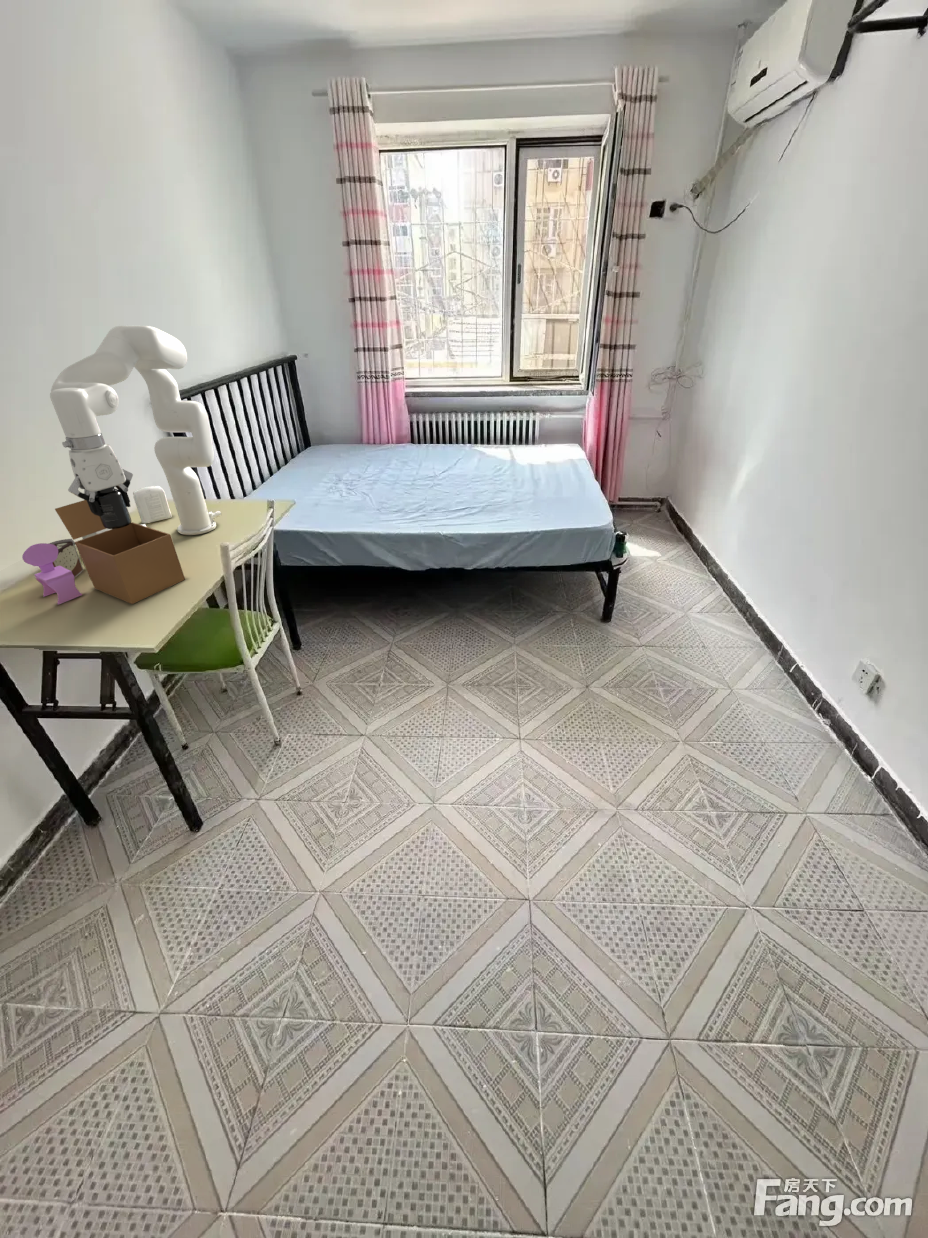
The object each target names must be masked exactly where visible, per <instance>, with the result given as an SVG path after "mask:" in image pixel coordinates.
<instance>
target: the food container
mask: <svg viewBox="0 0 928 1238" xmlns="http://www.w3.org/2000/svg"><path fill="white" fill-rule="evenodd" d="M75 542H76V541H74V540H73V538H65V539H58V540H55V541H52V542H49V543H47V544H53V545H55V546H56V547H57V548H58V556H57V559H56V560H55V561H53V566H54V567H57V566H62V567H64V568H65V569H68V570H70V571H72V574H73V575H74V579H76V578H77V577H78V576H79V575H80V574H81V573H83V572H84V568H83V565H82V562H81V558H80V555H79V554H78V553H79V552H78V550H77V547H76V544H75Z"/></svg>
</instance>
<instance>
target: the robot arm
mask: <svg viewBox="0 0 928 1238" xmlns="http://www.w3.org/2000/svg"><path fill="white" fill-rule="evenodd" d="M187 363H188V353H187V350H186V347H185V345H184V344H183V342H181V340H180V339H178V338H177V337H175V336H173V335H171V334H169V333H167V332H165V331H163V330H161V329H159V328H157V327H154V326H152V325H151V326H150V325H117V326H114V327H112V328H111V329H110V330H109V331H108V332H107V334H106V335H105V337H104V338H103V340H102V342H101V343H100V345H99V346H98V347H97V349H96V350H95V352H94V353H92V354H91V355H88V356H86V357H84V358H82V359H80V360H78V361H76V362H75V363H72V364H70V365H68V366H67V367H65V368H64V369H63V370H62V371H61V372H60V373H59V375H58V376H57V377H56V379H55V380H54V381H53V382H52V383H53V384H52V386H51V389H50V393H49V398H50V401H51V404H52V406H53V408H54V411H55V412H56V413H55V414H56V416H57V419H58V422H59V424H60V426H61V428H62V431H63V433H64V436H65V441H62V442H61V444H62V446H63V448H69V450H68V456H69V461H70V467H71V470H72V473H73V475H74V479H73V481H72V482H71V484H70V486H69V487H68V489H67V491H68V492H69V493H71V494H73V495H74V496H76V497H78V498H80V499H82V500H86V501H87V503H88V505H89V508H90V510H91V512H92V513H94V515H97V516H102V515H103V514H102V511H101V509H100V506H99V504H98V502H97V501H95V491H100V490H103V489H107V488H110V487H114V486H115V487H114V488H115V489H117V490H119V491H120V492H121V493H122V496H123V498H124V501H125V504H126V506H127V508H131V500H130V497H129V493H128V492H129V487H130V485H131V481H132V479H133V476H134V474H133V473H132V472H130V471H128V470H126V469H124V468H122V465H121V463H120V461H119V459H118V457H117V455H116V453H115V452H114V450H113V448H112V446H111V445H110V444H108V443H106V442H105V439H104V436H103V433H102V430H101V428H100V426H99V422H98V420H97V417H98V416H99V417H100V416H107V415H108V416H109V415H112V414H114V413H115V412H116V411H117V410H118V408H119V405H120V399H119V395H118V394H117V391H116V390H115V389H114V388H113V387H111V386H113V385H117V384H120V383H122V382H125V381H126V380H127V379H128V378H129V377H130V374H131V372H132V371H133V369H134V368H135V369H136V371H137V372H138V373H139V374H140V376H141V377H142V378H143V380H144V382H145V384H146V386H147V390H148V395H149V399H150V404H151V409H152V415H153V419H154V423H155V425H156V427H157V428H158V429H159V431H162V432H164V433H191V436H165V437H161V438H159V439H158V440H156V442H155V443H154V455H155V456H156V459H157V461H158V463H159V464H160V467H161V469H162V471H163V473H164V475H165V478H166V482H167V484H168V487H169V490H170V494H171V497H172V500H173V503H174V507H175V510H176V514H177V517H178V520H179V522H180V524H179V525H178V526H177V532H178V533H179V534H181V535H184V536H197V535H203V534H206V533H209V532H211V531H213V530H214V529H216V528H217V523H216V521H215V519H216V518H219V517H221V516H222V512H221V511H220V510H217V511H214V512H213V511H208V507H207V503H206V500H205V497H204V493H203V489H202V485H201V482H200V478H199V477H198V475H197V473H196V472H195V471H194V470H193V469H192V468H208V467H211V466H212V465H213V464H214V461H215V449H214V444H213V438H212V437H213V436H212V430H211V425H210V419H209V414H208V412H207V410H206V408H205V406H203V404H202V403H200V402H198V401H196V400H182V398H181V395H180V389H179V384H178V383H177V381H176V379H175V378H174V377H173V375H172V374H171V373H170V372H169V371H167V370H181V369H183V368H185V367H186V366H187ZM80 489H81V490H83V492H81V491H80Z"/></svg>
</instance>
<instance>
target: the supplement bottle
mask: <svg viewBox="0 0 928 1238" xmlns="http://www.w3.org/2000/svg"><path fill="white" fill-rule="evenodd" d="M95 501H97V502H98V504H99V506H100V509H101V511H102V514H103V515H102V516H99V517H100V519H101V522H102V524H103V526H104V527H105V528H107V529H118V528H122V527H125V526H128V525H129V524H131V522H133V521H132V518H131V515H130V511H129V509H128V507H127V506H126V504H125V501H124V498H123V496H122V493H121V492H120V491H119V490H118V489H117V488H116V487H115V486H114V487H110V488H107V489H103V490H100V491H95Z"/></svg>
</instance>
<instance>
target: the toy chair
mask: <svg viewBox="0 0 928 1238" xmlns="http://www.w3.org/2000/svg"><path fill="white" fill-rule="evenodd" d="M57 556H58V548H57V547H56V546H55V545H53V544H48V543H46V542H45V543H44V542H43V543H34V544H32V545H30V546H29V547H27V548H26V549H25V551H24V552H23V554H22V560H23V562H24V563H25V564H27V565H30V566H32V567H38V568H39V570H40V572H37V573H34V574H33V576H34V577H35V580H36V581H38V582H39V583H40V584H41V585H42V589H43V594H42V596H43V598H45V597H47V596H50V595H53V594H57V603H56V604H57V606H58V605H61V604H64V603H66V602H69V601H71V600H73V599H77V598H78V597H81V596H83V593H81V592H80V591H79V589H77V587H76V586H77V585H76V582H75V579H76V578H74V575H73V574H72V571H70V570H68V569H65V568H64V567H62V566H57V567H54V566H53V561H55V560H56V559H57Z"/></svg>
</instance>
